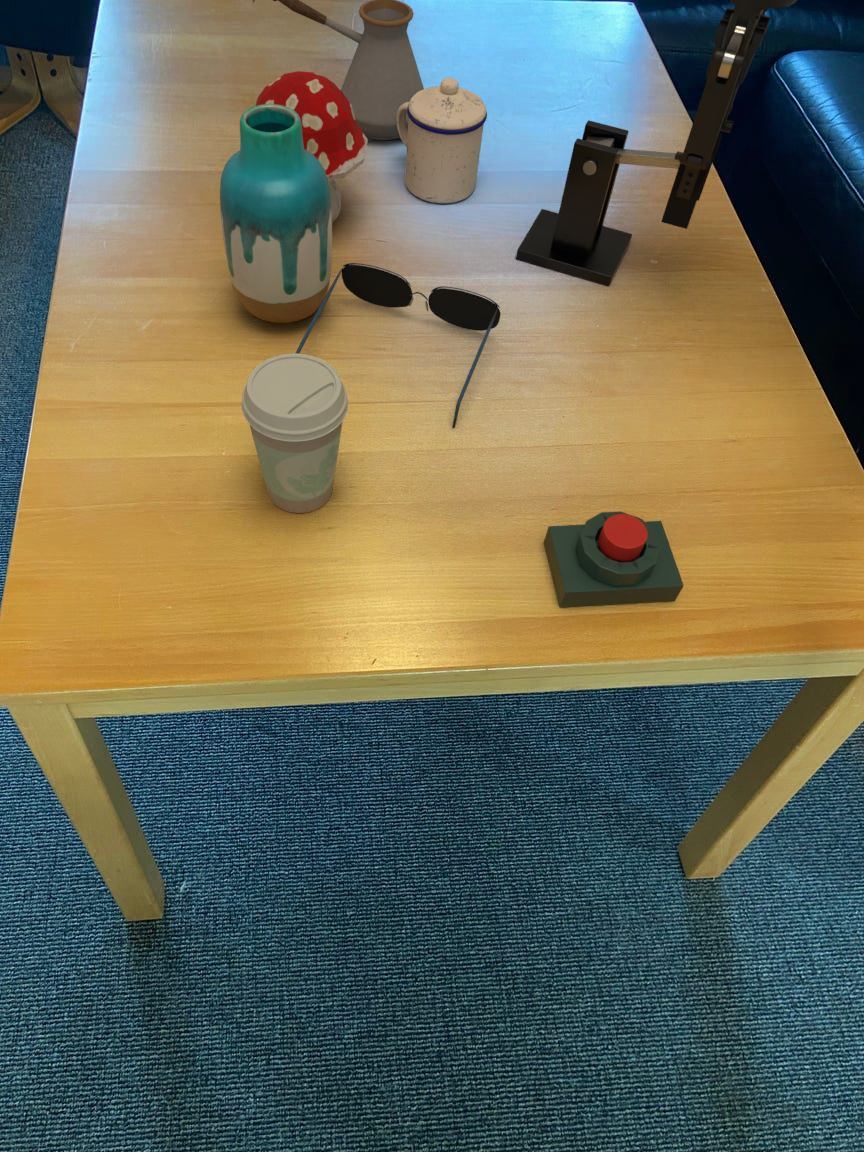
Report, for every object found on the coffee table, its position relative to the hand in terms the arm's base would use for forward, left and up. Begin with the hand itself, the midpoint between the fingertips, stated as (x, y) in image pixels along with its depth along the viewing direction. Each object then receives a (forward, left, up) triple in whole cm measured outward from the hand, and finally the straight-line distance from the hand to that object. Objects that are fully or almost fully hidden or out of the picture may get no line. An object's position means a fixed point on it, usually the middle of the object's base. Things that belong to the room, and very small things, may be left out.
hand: (681, 208), depth 90 cm
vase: (+35, +24, -8) cm, 43 cm away
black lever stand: (+10, 0, -8) cm, 13 cm away
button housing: (-6, +43, -8) cm, 44 cm away
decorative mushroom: (+40, +8, -8) cm, 42 cm away
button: (-6, +43, -4) cm, 44 cm away
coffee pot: (+45, -13, -8) cm, 47 cm away
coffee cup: (+22, +46, -8) cm, 52 cm away
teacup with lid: (+30, -6, -8) cm, 32 cm away
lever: (+5, 0, +3) cm, 6 cm away
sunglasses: (+21, +26, -8) cm, 34 cm away
